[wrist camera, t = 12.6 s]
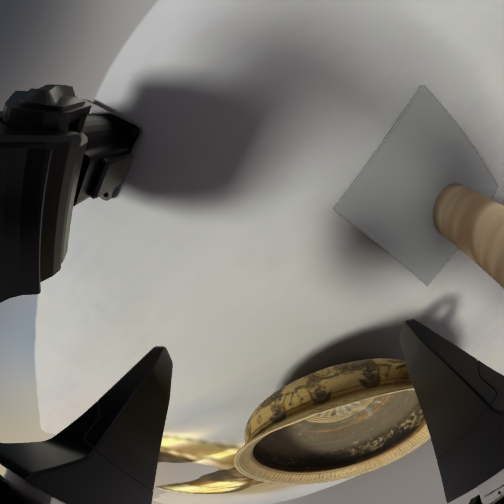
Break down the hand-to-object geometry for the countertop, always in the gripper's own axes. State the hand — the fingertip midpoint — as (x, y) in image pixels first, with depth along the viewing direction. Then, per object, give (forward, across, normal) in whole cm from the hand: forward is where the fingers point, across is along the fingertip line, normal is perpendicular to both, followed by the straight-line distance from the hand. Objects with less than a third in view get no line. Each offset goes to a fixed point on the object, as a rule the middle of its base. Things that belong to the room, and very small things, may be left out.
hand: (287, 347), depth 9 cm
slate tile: (+13, -14, -1) cm, 19 cm away
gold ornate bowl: (+13, -6, +22) cm, 27 cm away
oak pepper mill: (+12, -16, 0) cm, 21 cm away
